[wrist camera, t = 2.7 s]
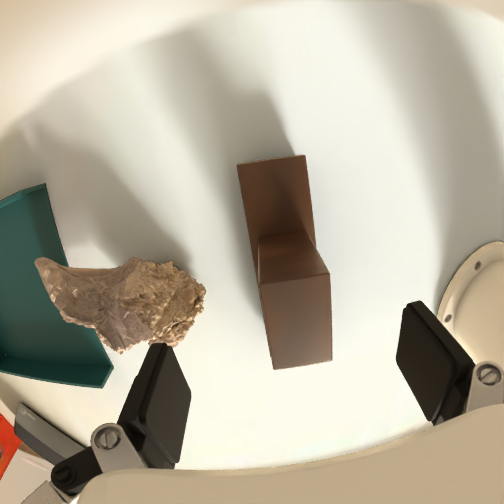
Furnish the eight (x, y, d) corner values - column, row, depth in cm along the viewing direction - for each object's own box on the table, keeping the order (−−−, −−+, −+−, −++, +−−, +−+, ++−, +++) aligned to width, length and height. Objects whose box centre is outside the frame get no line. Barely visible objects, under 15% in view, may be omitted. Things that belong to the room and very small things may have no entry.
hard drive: (21, 398, 30) (10, 414, 26) (117, 464, 34) (111, 482, 30) (17, 420, 34) (9, 433, 30) (97, 474, 38) (91, 488, 34)
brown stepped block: (299, 154, 18) (332, 159, 10) (317, 331, 23) (339, 411, 15) (238, 162, 18) (225, 174, 10) (269, 338, 23) (273, 421, 15)
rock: (49, 227, 20) (-6, 258, 13) (211, 262, 21) (194, 316, 14) (53, 288, 22) (9, 329, 15) (201, 327, 23) (185, 390, 16)
